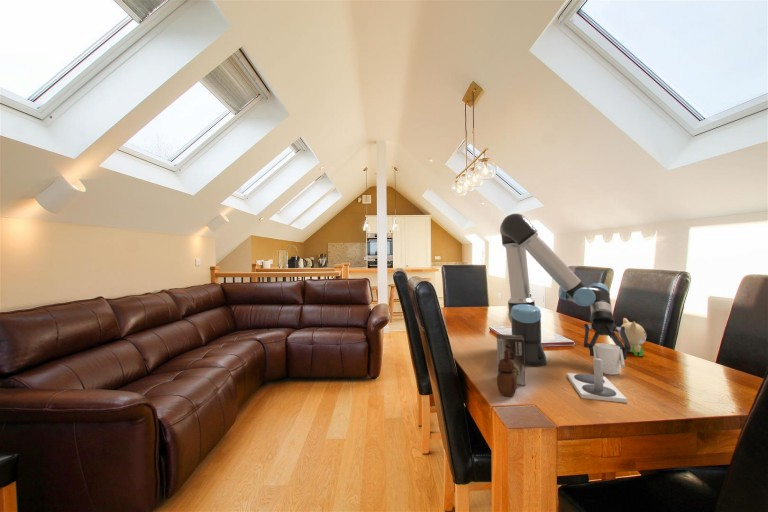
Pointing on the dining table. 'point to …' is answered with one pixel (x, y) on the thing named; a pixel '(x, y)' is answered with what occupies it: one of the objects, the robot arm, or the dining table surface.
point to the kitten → (634, 336)
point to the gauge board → (590, 396)
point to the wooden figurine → (506, 377)
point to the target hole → (586, 378)
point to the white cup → (609, 357)
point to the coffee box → (512, 354)
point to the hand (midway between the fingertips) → (609, 365)
